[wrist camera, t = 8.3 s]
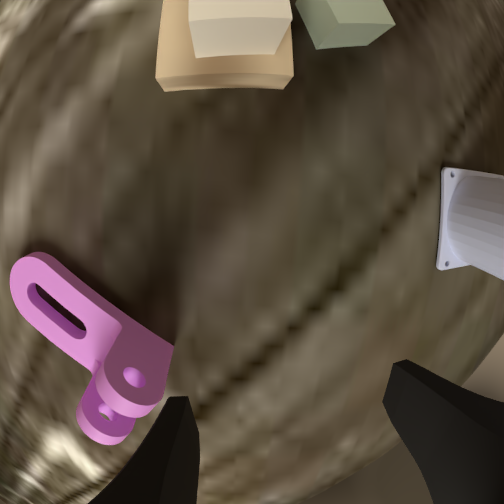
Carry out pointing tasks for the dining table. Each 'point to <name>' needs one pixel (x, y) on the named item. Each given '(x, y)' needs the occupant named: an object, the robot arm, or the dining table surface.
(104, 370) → the bracket
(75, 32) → the dining table surface
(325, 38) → the sage cube
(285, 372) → the dining table surface
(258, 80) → the oak slab
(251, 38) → the cream cube
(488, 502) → the robot arm
